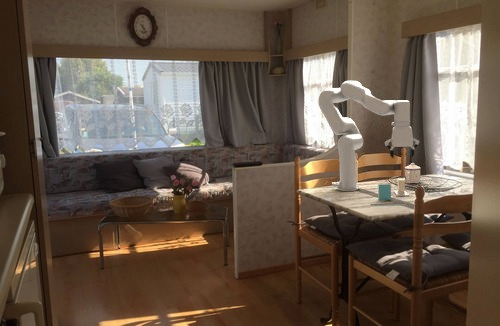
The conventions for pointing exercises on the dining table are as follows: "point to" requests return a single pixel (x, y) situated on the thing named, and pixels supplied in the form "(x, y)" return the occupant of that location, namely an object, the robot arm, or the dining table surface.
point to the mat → (387, 204)
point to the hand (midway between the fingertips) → (401, 157)
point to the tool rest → (401, 196)
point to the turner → (401, 188)
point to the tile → (384, 191)
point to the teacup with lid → (412, 174)
